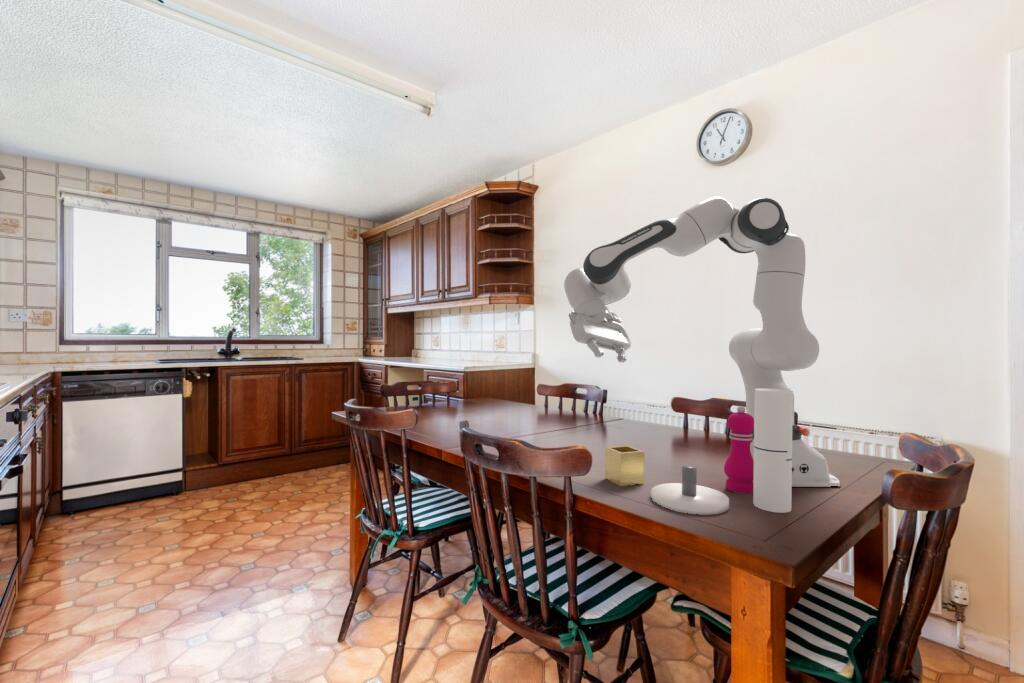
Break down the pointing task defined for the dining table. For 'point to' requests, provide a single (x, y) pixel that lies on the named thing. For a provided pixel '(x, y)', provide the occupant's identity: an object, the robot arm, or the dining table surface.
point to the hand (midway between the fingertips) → (611, 358)
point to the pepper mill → (740, 453)
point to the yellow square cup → (624, 465)
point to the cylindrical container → (773, 449)
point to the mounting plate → (690, 503)
